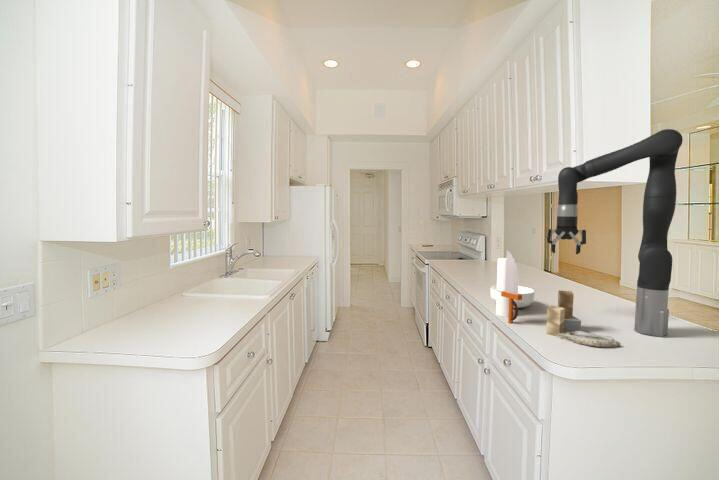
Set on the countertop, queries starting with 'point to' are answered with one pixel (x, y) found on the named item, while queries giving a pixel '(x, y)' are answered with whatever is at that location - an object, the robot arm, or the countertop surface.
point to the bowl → (524, 291)
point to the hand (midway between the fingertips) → (565, 253)
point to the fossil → (589, 339)
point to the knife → (511, 286)
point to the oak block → (555, 320)
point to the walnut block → (566, 303)
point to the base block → (572, 325)
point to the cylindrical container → (501, 289)
